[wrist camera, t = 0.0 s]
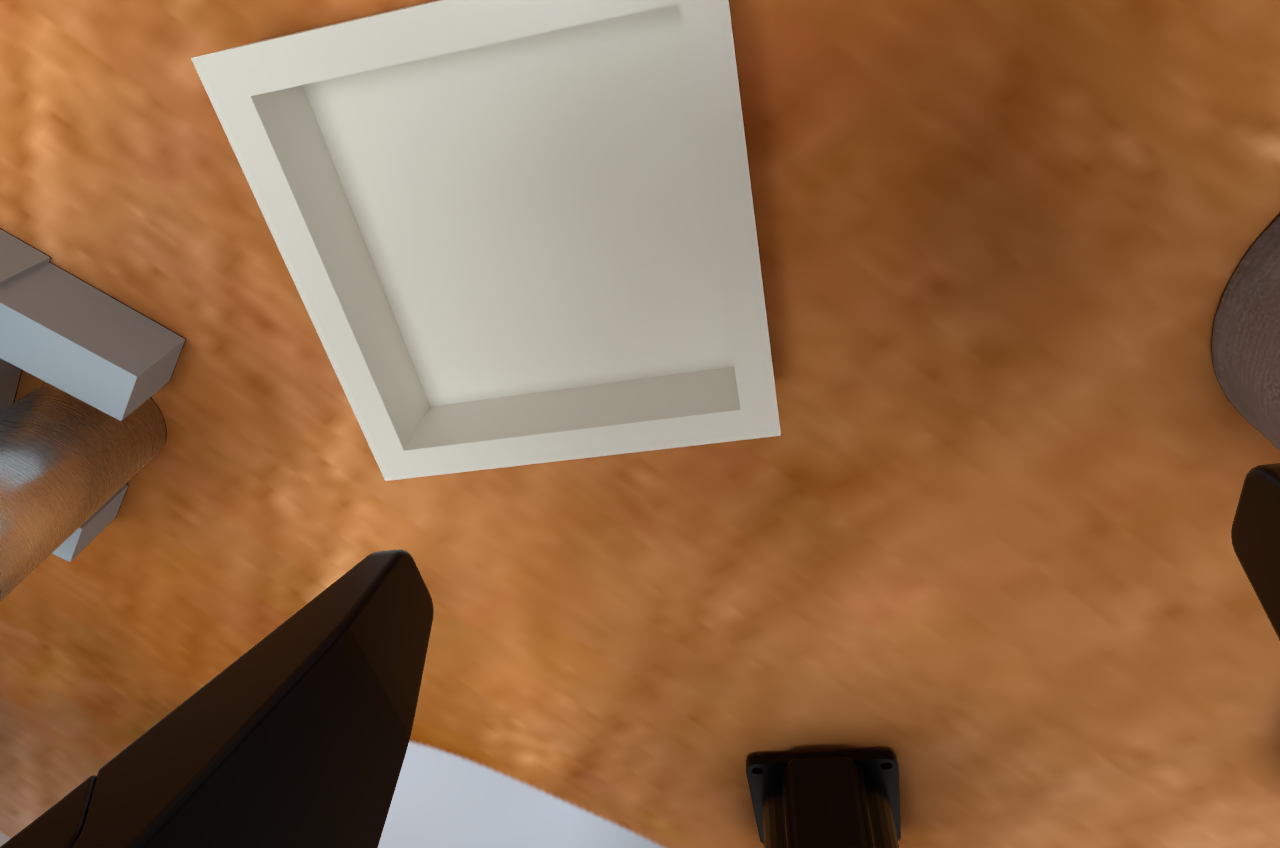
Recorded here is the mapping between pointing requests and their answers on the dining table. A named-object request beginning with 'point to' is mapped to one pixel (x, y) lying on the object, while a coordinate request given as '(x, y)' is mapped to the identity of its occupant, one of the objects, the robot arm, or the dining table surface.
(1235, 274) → the pillar candle
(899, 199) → the dining table surface
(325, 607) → the robot arm
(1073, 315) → the dining table surface
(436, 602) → the dining table surface
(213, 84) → the tray
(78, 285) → the tensioner block
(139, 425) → the pin
